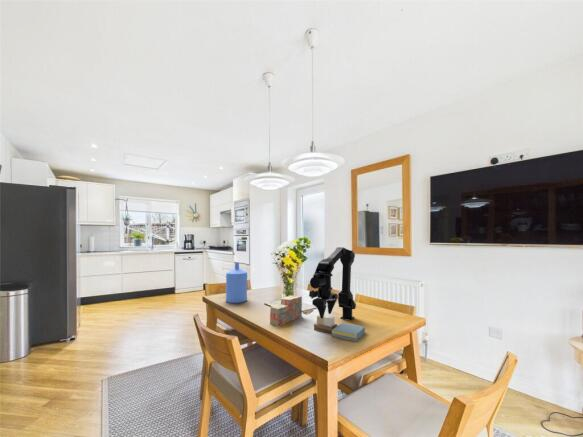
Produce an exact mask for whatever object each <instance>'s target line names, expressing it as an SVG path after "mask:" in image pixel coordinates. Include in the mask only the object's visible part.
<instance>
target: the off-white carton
mask: <svg viewBox="0 0 583 437" xmlns="http://www.w3.org/2000/svg"><path fill="white" fill-rule="evenodd" d="M326 315H327V314H326ZM334 324H335V316H332V315H327V316H325V317H324V325H325V326H330V327H332V326H333V325H334Z"/></svg>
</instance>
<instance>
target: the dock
mask: <svg viewBox="0 0 583 437" xmlns="http://www.w3.org/2000/svg"><path fill="white" fill-rule="evenodd" d="M365 334H366V327H365V326H362V325H357V324H352V323H348V322H347V323H346V322H341V323H340V324H337V327H335V328H334V329H333V330H332V334H331V336H332V337H334V338H337V339H338V338H339V339H343V340H347V341H351V342H357V341H359V340H360V339H361V338H362V337H363V336H364V335H365Z"/></svg>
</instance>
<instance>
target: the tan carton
mask: <svg viewBox="0 0 583 437" xmlns="http://www.w3.org/2000/svg"><path fill="white" fill-rule="evenodd" d="M325 316H327V314H324V317H325ZM324 317H323V319H322V318H321V317H320V314H318V315H317V316H316V323H317V324H320V325H324Z"/></svg>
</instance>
